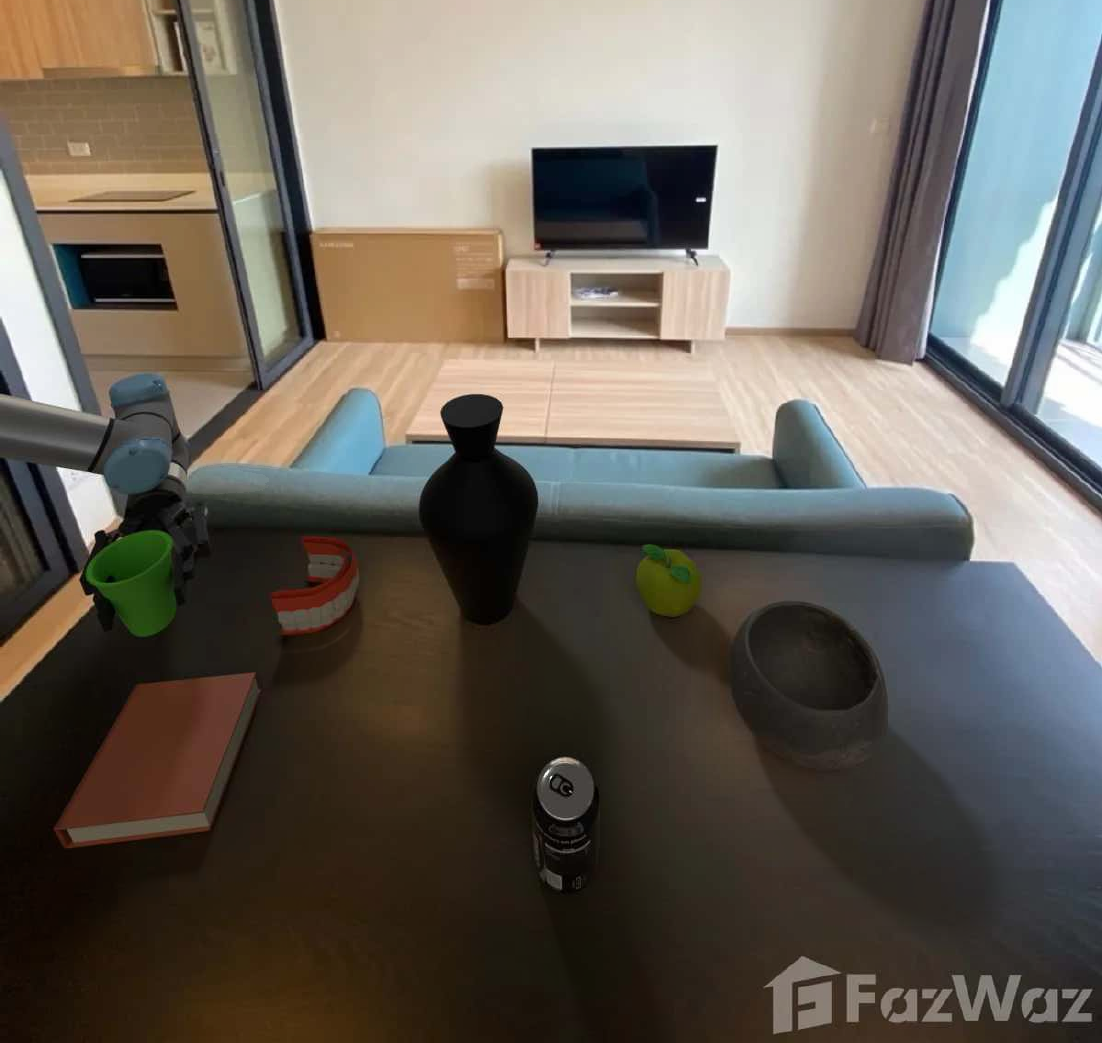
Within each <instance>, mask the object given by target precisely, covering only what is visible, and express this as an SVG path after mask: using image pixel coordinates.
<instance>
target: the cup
mask: <svg viewBox="0 0 1102 1043" xmlns="http://www.w3.org/2000/svg"><path fill="white" fill-rule="evenodd" d="M172 544H173V541H172V538H171V537H170V536H169V535H168V534H167V533H165V532H162V531H157V530H148V531H141V532H137V533H133V534H130V535H128V536H125V537H123V538H121V537H120V538H118V539H117V540H116V541H114V542H113V543H111V544H110V545H108V546H106V547H105V548H104V549H103V550H101V551H100V552H99V553H98V554H97V555H96V556H95V557H94V558H93V559H92V560H91V562H90V563H89V565H88V567H87V571H86V579H87V581H88V582H89V583H90V584H92V585H94V586H96V587H97V588H98V590H99V591H100V592H101V593H102V595H103V596H104V597H106V598H108V599H109V601H110V603H111V604H112V606H113V608H114V610H115V614H116V615H117V616H118V618H119V619H120V620H121V622H122V623H123V624H124V626H125V627H126V629H128V631H129V632H130V634H132V635H134V636H137V637H141V638H143V637H150V636H153V635H156V634H158V633H159V632H161V631H162V630H164V629H165V628H167V627H168V626H169V625H170V624H171V623H172V622H173V620H174V619H175V616H176V612H177V600H176V597H175V594H174V591H173V584H174V572H173V560H172V550H173V545H172ZM110 575H113V577H114V579H115V583H105V581H106V579H107V578H108V577H109V576H110Z"/></svg>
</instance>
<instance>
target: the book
mask: <svg viewBox="0 0 1102 1043" xmlns="http://www.w3.org/2000/svg"><path fill="white" fill-rule="evenodd" d="M256 675H257V672H256V671H255V672H254V671H253V672H245V673H236V674H225V675H216V676H206V677H197V678H196V677H195V678H186V679H177V680H168V681H157V682H147V683H138V684H135V686H134V688H133V689H132V691H131V693H130V695H129V697H128V699H126V702H125V703H124V705H123V707H122V709H121V710H120V711H119V712H120V713H119V714H118V716H117V717H116V719H115V721H114V723H113V724H112V726H111V728H110V730H109V731H108V733H107V734H106V737H105V738H104V740H103V742H102V743H101V745H100V747H99V749H98V750H97V753H96V754H95V756H94V758H93V759H92V761H91V763H90V765H89V767H88V768H87V770H86V772H85V773H84V775H83V777H82V778H81V781H79V784H78V786H77V787H76V789H75V791H74V792H73V794H72V796H71V798H70V800H69V802H68V803H67V805H66V806H65V808H64V810H63V811H62V814H61V815H60V817H59V818H58V821H57V822H56V824H55V826H54V828H53V831H54V833H55V834H56V836H57V838H58V840H59V842H60V843H61V845H62V846H63V848H64V850H65V849H74V848H82V847H89V846H100V845H107V844H114V843H123V842H131V841H139V840H147V839H153V838H156V839H157V838H164V837H171V836H179V835H188V834H196V833H202V832H203V833H204V832H210V831H211V829H212V826H213V824H214V822H215V819H216V815H217V813H218V811H219V808H220V805H221V802H222V800H223V796H224V794H225V791H226V789H227V785H228V783H229V780H230V778H231V775H232V772H233V769H234V766H235V763H236V761H237V759H238V755H239V754H240V750H241V748H242V745H243V741H244V739H245V736H246V734H247V731H248V728H249V726H250V723H251V720H252V717H253V714H254V712H255V709H256V707H257V704H258V701H259V698H260V695H261V693H262V688H259V686H258V683H257V680H256V677H257V676H256Z"/></svg>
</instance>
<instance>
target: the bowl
mask: <svg viewBox="0 0 1102 1043" xmlns="http://www.w3.org/2000/svg"><path fill="white" fill-rule="evenodd" d="M729 650H730V651H729V654H728V655H729V657H728V663H727V664H728V666H727V667H728V668H727V673H728V675H727V676H728V684H729V689H730V694H731V698H732V700H733V703H734V706H735V709H736V710H737V712H738V715H739V716H740V718H741V719H742V721H743V723H744V724H745V726H746V727H747V728H748V730H749V731H750V732H751V733H752V735H753V736H754V737H755V738H756V739H757V740H758V741H759V742H760V743H761V744H762V745H764V746H765V747H766V748H767V749H768V750H770V751H771V752H773V753H774V754H775V755H778V756H779V757H780V758H782V759H784V760H786V761H788V762H790V763H792V764H795V765H797V766H799V767H804V768H808V769H812V770H816V771H817V770H818V771H839V770H845V769H847V768H851V767H854V766H857V765H860V764H861V763H863V762H865V761H866V760H868V759H869V758H870V757H871V756H872V755H873V754H874V753H875V752H876V751H877V749H878V748H879V747H880V745H881V744H882V742H883V741H884V738H885V736H886V735H887V730H888V724H889V699H888V691H887V684H886V680H885V676H884V672H883V669H882V667H881V664H880V661H879V660H878V657H877V655H876V653H875V652H874V650H873V648H872V647H871V646H870V644H869V643H868V641H867V640H866V639H865V637H863V635H862V634H861V633H860V632H859V631H858V630H857V629H855V628H854V626H852V625H851V624H850V622H849V621H847V619H845V618H844V617H842V616H841V615H840V614H838V613H836V612H834V611H832V610H831V609H829V608H827V607H825V606H822V605H819V604H816V603H811V602H808V601H803V600H780V601H774V602H771V603H767V604H766V605H764V606H761V607H759V608H758V609H756V610H755V611H753V612H752V613H751V614H750V615H749V616H747V617H746V619H745V620H743V622H742V623H741V624H740V626H739V628H738V630H737V631H736V633H735V635H734V637H733V639H732V644H731V646H730V649H729Z"/></svg>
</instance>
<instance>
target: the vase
mask: <svg viewBox="0 0 1102 1043" xmlns="http://www.w3.org/2000/svg"><path fill="white" fill-rule="evenodd" d="M503 411H504V405H503V402H502V401H500V400H499V399H498V398H497V397H495V396H492V395H489V394H483V393H470V394H464V395H463V394H462V395H460V396H457V397H454V398H452V399H450V400H448V401H447V402H446V403H444V405H443V406H442V407H441V409H440V412H439V413H440V418H441V421H442V423H443V426H444V428H445V431H446V433H447V436H448V438H449V440H450V443H451V445H452V447H453V450H454V453H453V454H452V455H451V456H450V457H449V458H448V459H447V460H445V462H444V463H443V464H441V465H440V466H439V467H438V468H437V469H435V471H434V472H433V473H432V474H431V476H429V477H428V480H427V481H426V482H425V484H424V486H423V488H422V490H421V493H420V497H419V502H418V517H419V521H420V524H421V526H422V529H423V531H424V535H425V537H426V539H427V540H428V543H429V545H430V547H431V550H432V552H433V554H434V556H435V558H436V560H437V562H438V565H439V567H440V569H441V571H442V574H443V575H444V577H445V580H446V582H447V584H448V586H449V587H450V588H449V589H450V591H451V593H452V595H453V597H454V599H455V601H456V603H457V605H458V608H459V610H460V612H461V613H462V615H463V617H464V618H465V619H466V620H467V621H468V622H470V623H472V624H475V625H478V626H490V625H493V624H498V623H499V622H500V620H501V621H502V620H504V619H505V618H506V617H507V616H508V615H509V614H511V611H512V609H513V607H514V604H515V600H516V597H517V593H518V589H519V585H520V581H521V577H522V573H523V569H524V567H525V563H526V559H527V554H528V551H529V546H530V543H531V540H532V536H533V532H534V527H535V523H536V518H537V515H538V509H539V493H538V489H537V485H536V482H535V481H534V478H533V477H532V475H531V473H529V471H528V470H527V469H526V468H525V467H524V466H523V465H522V464H521V463H520V462H518V461H517V460H515V459H513V458H512V457H510V456H508V455H506V454H505V453H503V452H502V451H500V450H499V449H497V448H496V443H497V437H498V434H499V429H500V424H501V421H502V416H503ZM498 621H499V622H498Z"/></svg>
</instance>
